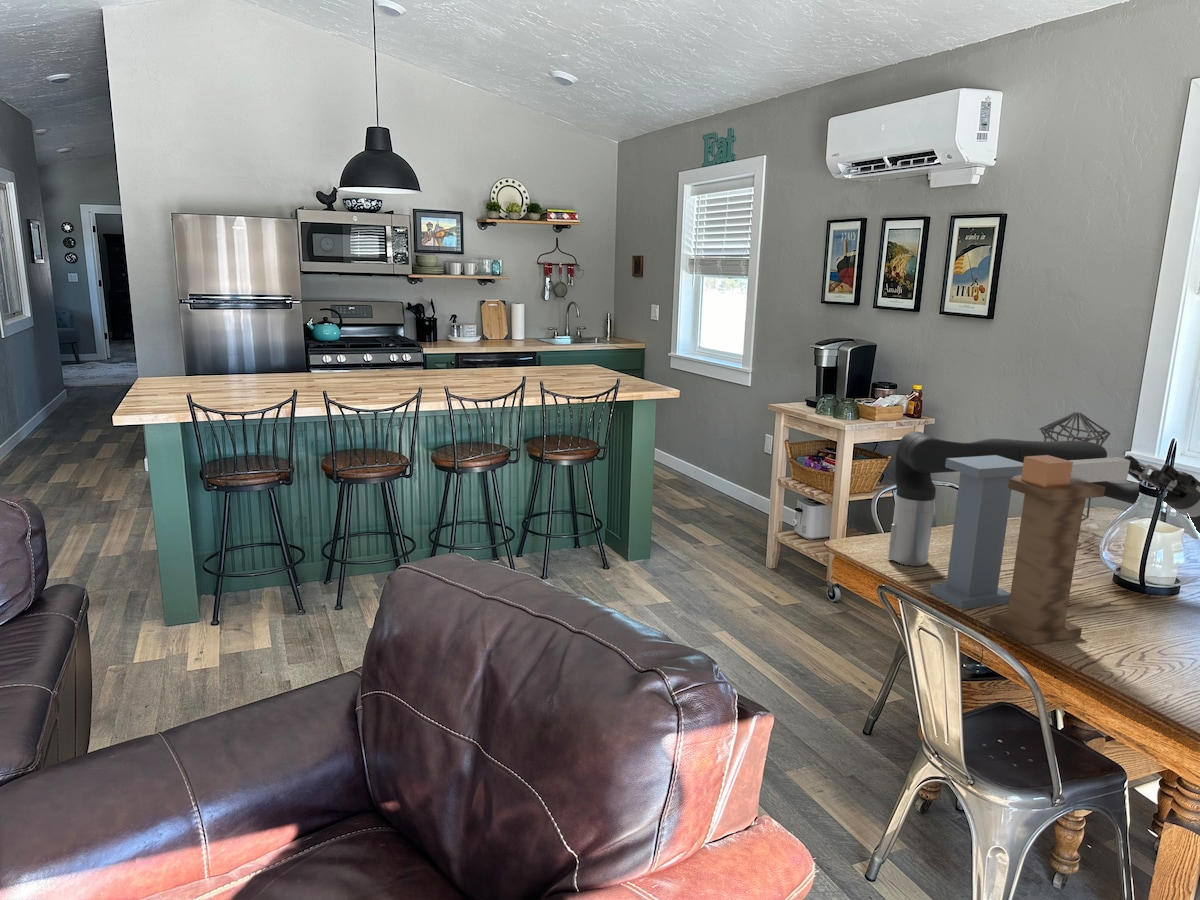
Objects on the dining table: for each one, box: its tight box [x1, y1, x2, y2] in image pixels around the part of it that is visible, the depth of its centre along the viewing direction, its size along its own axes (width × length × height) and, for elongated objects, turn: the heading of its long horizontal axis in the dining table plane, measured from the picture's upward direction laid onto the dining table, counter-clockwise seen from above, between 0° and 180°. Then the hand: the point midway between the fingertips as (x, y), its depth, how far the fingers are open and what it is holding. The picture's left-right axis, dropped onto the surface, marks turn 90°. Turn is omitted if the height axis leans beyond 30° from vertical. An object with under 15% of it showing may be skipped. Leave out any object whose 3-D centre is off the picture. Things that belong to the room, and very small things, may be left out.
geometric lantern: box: [1037, 411, 1111, 522], centre depth 233 cm, size 16×16×35 cm
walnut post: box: [988, 477, 1105, 646], centre depth 165 cm, size 14×10×32 cm
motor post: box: [929, 455, 1023, 610], centre depth 182 cm, size 14×10×32 cm
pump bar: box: [1020, 455, 1130, 489], centre depth 163 cm, size 23×6×5 cm, turn 108°
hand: (1144, 463), depth 174 cm, fingers open, 8 cm apart
